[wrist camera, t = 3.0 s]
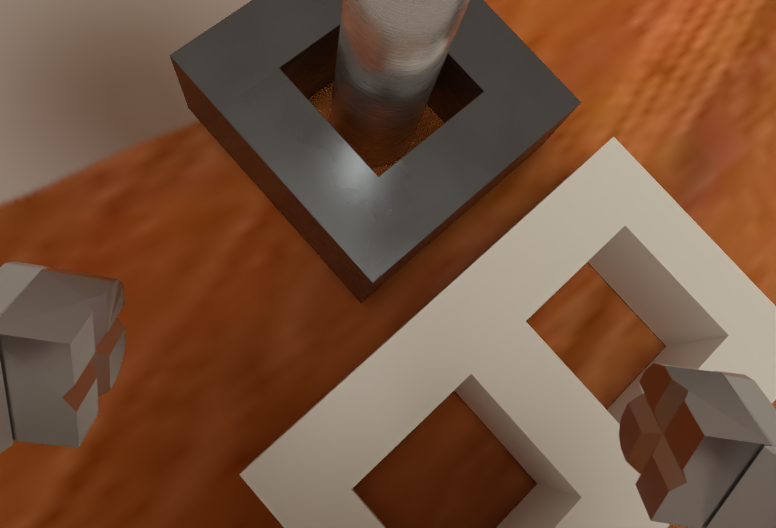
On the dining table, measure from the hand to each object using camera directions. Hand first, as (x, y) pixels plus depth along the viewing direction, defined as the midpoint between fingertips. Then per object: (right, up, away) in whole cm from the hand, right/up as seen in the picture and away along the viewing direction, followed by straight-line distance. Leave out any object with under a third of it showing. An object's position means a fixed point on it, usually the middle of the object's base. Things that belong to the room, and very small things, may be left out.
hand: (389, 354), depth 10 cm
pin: (-1, +8, +20) cm, 22 cm away
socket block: (-1, +8, +20) cm, 22 cm away
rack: (+6, -5, +18) cm, 20 cm away
